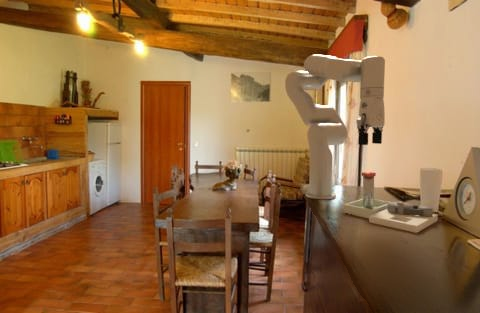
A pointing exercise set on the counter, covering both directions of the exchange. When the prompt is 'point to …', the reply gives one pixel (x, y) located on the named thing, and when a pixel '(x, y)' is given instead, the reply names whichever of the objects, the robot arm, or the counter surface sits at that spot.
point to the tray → (358, 209)
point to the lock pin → (368, 189)
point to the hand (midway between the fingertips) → (370, 144)
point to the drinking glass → (430, 187)
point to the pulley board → (405, 216)
